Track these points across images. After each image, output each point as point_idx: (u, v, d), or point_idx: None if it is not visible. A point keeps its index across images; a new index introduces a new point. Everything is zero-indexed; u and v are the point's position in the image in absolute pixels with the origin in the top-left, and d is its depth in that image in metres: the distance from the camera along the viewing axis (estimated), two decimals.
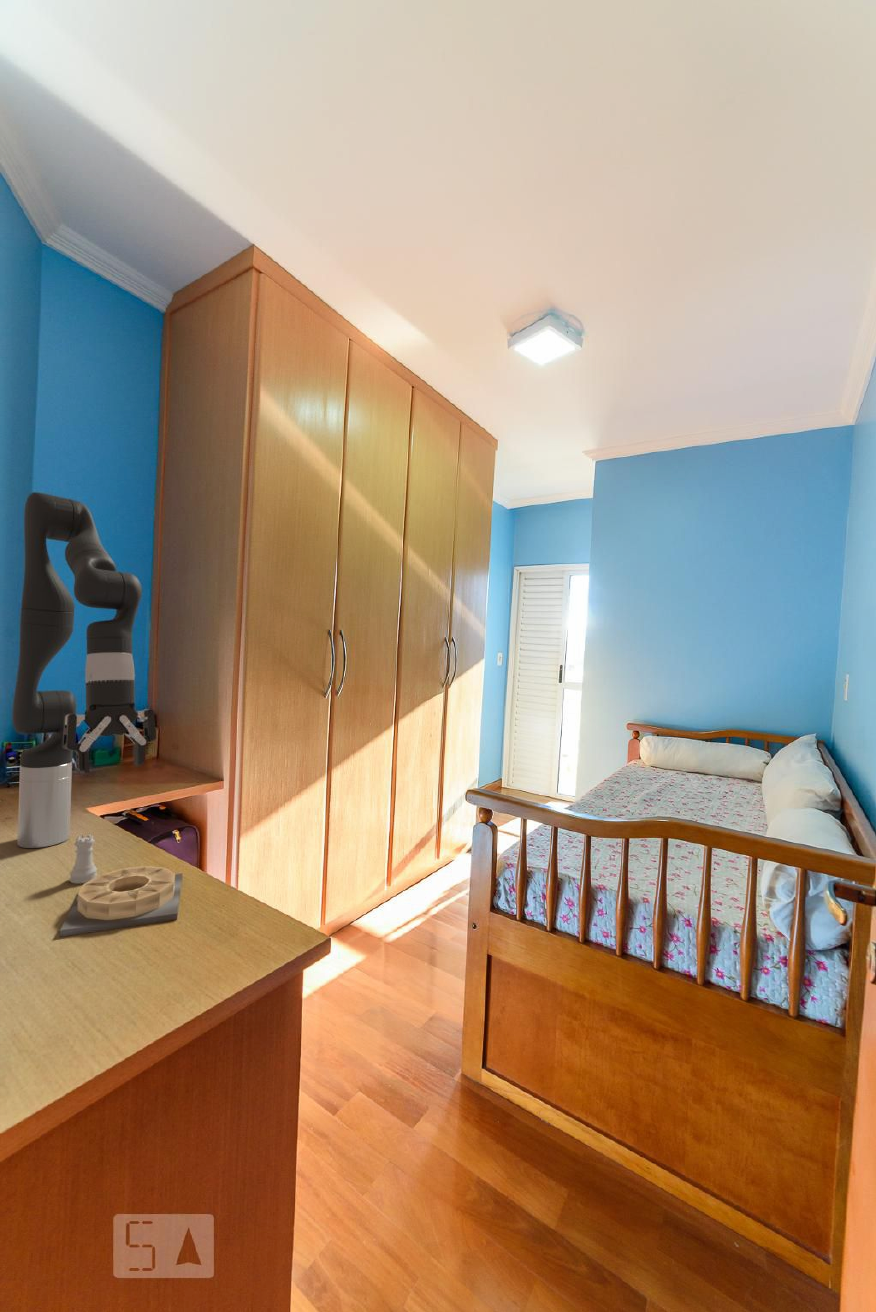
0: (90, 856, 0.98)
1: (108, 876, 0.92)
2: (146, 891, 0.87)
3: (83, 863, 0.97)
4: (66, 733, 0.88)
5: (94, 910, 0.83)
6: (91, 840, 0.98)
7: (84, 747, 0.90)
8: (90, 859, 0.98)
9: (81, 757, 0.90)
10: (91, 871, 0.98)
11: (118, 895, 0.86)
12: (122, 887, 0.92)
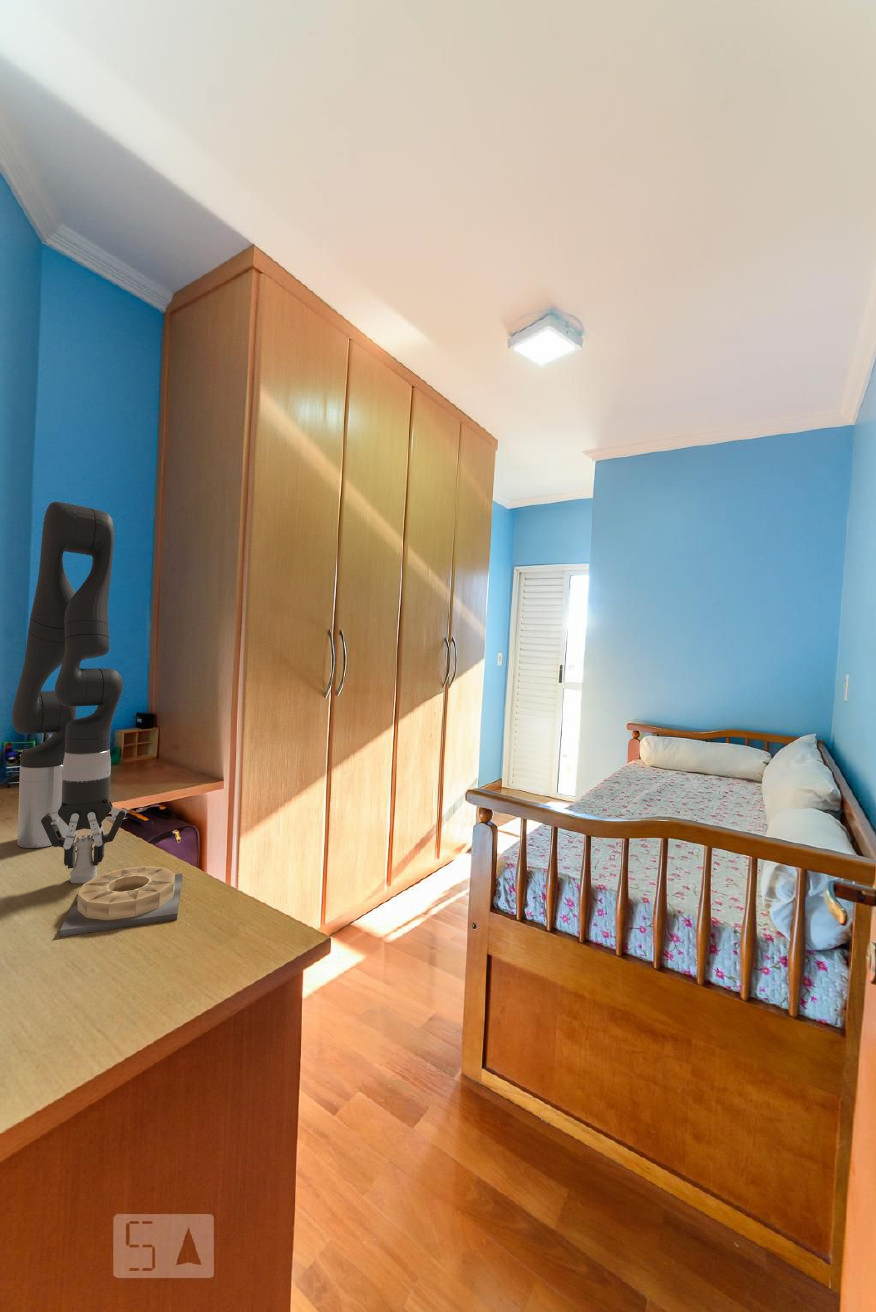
0: (90, 856, 0.98)
1: (108, 876, 0.92)
2: (146, 891, 0.87)
3: (83, 863, 0.97)
4: None
5: (94, 910, 0.83)
6: (91, 840, 0.98)
7: (68, 845, 0.96)
8: (90, 859, 0.98)
9: (66, 853, 0.97)
10: (91, 871, 0.98)
11: (118, 895, 0.86)
12: (122, 887, 0.92)
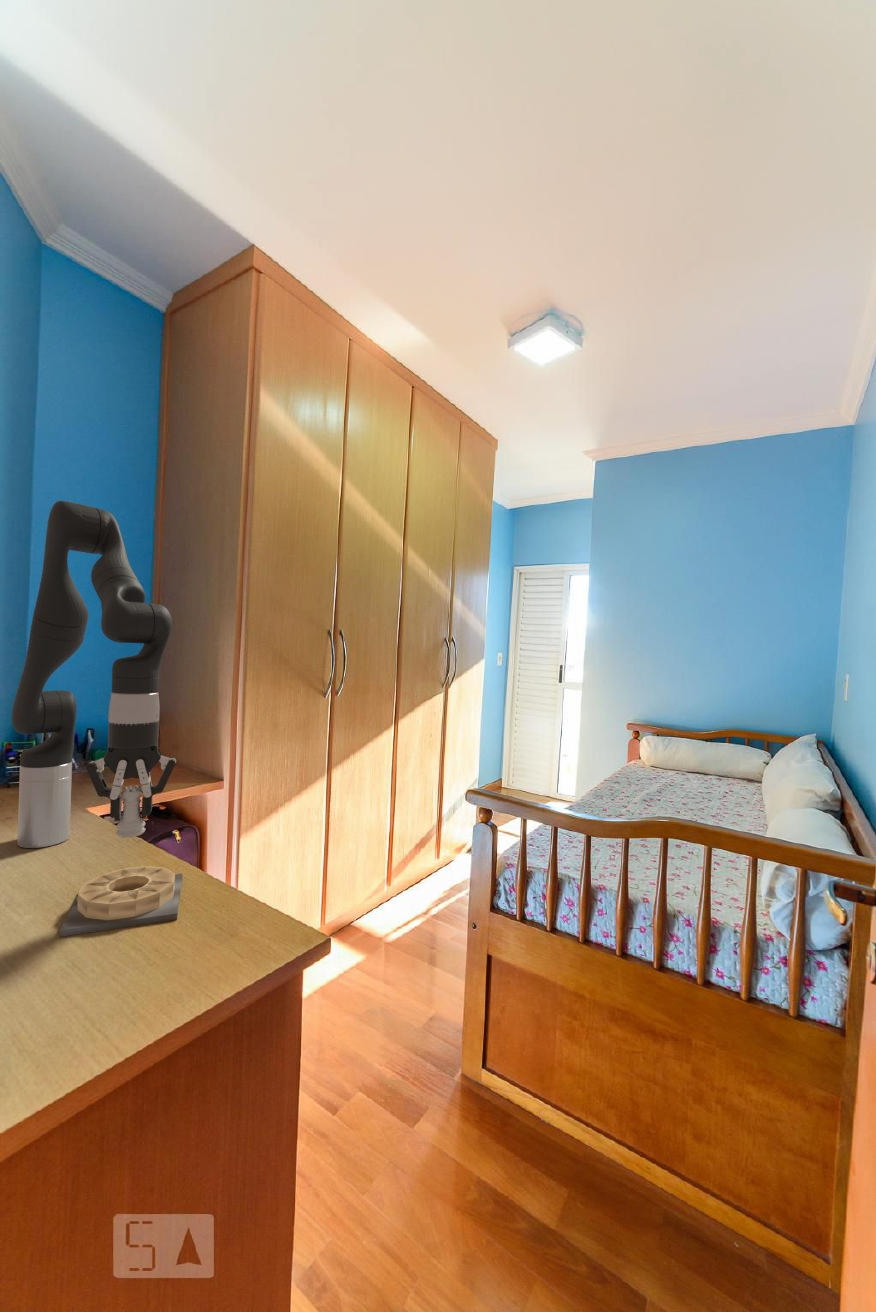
0: (138, 808, 0.90)
1: (108, 876, 0.92)
2: (146, 891, 0.87)
3: (130, 815, 0.89)
4: (93, 782, 0.87)
5: (94, 910, 0.83)
6: (139, 790, 0.90)
7: (114, 795, 0.88)
8: (138, 811, 0.90)
9: (113, 804, 0.88)
10: (139, 824, 0.89)
11: (118, 895, 0.86)
12: (122, 887, 0.92)
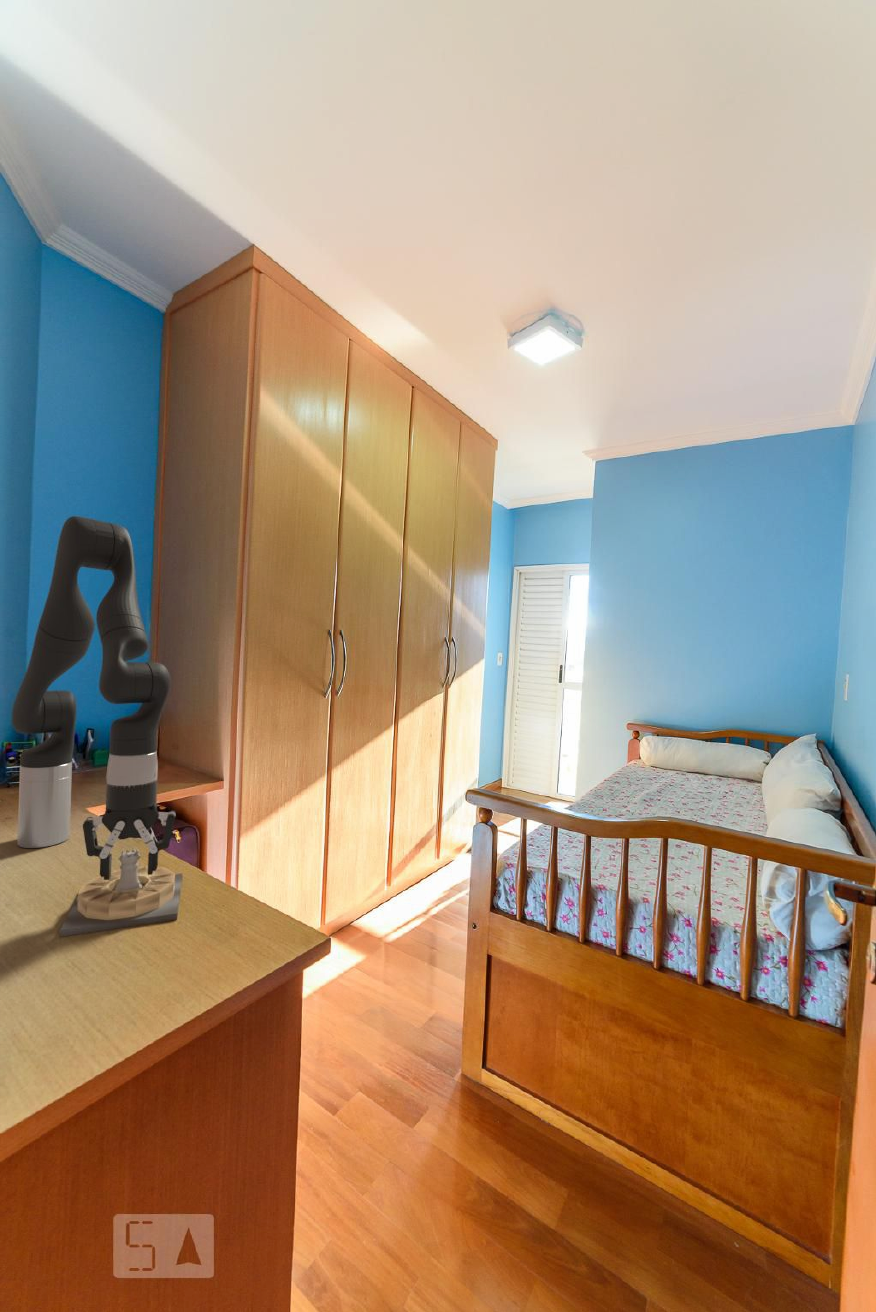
0: (135, 873, 0.90)
1: None
2: (146, 891, 0.87)
3: (128, 881, 0.89)
4: None
5: (94, 910, 0.83)
6: (137, 855, 0.90)
7: (104, 854, 0.87)
8: (135, 876, 0.90)
9: (102, 863, 0.88)
10: None
11: (118, 895, 0.86)
12: None
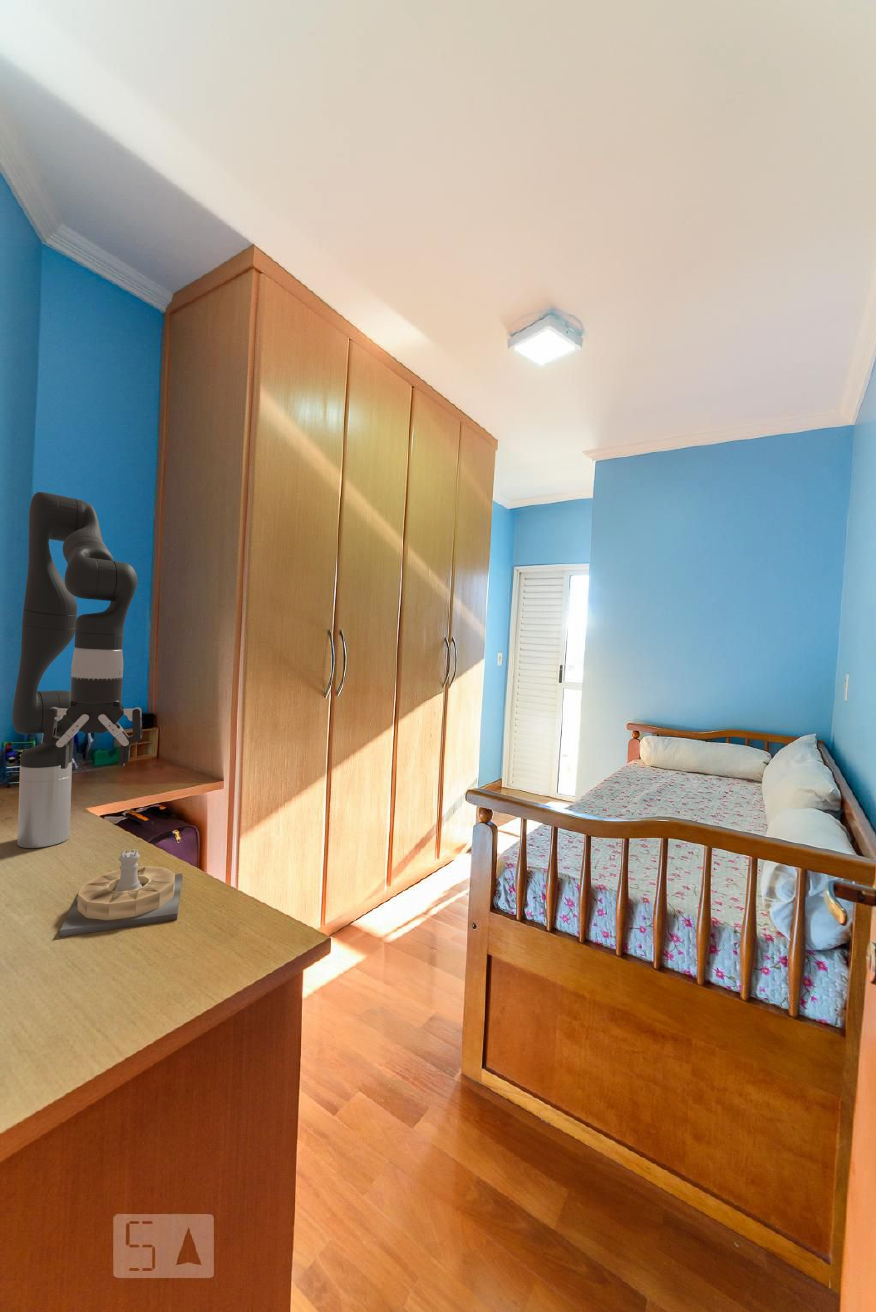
0: (135, 873, 0.90)
1: (108, 876, 0.92)
2: (146, 891, 0.87)
3: (128, 881, 0.89)
4: None
5: (94, 910, 0.83)
6: (136, 855, 0.90)
7: (61, 743, 0.88)
8: (135, 876, 0.90)
9: (59, 752, 0.89)
10: None
11: (118, 895, 0.86)
12: None
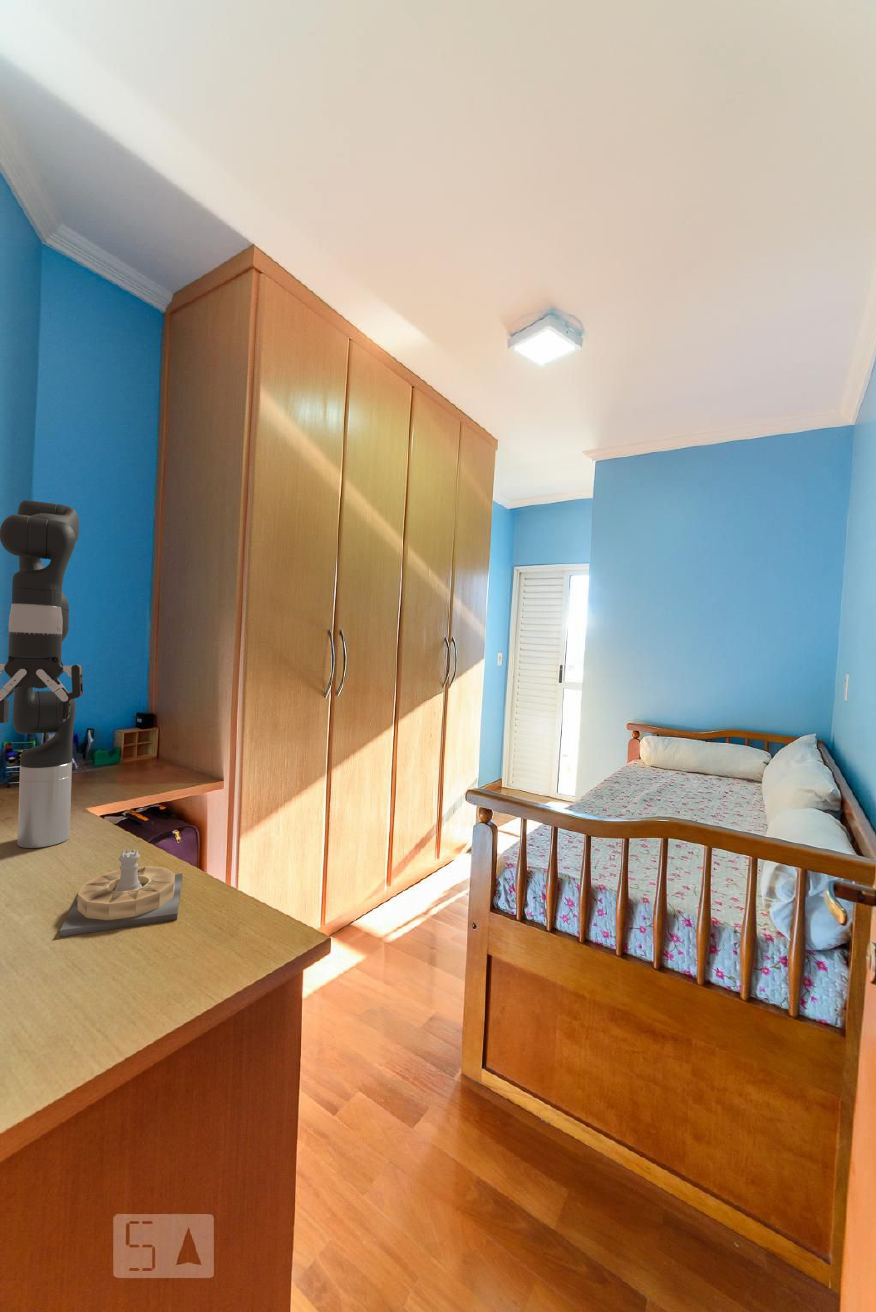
0: (135, 873, 0.90)
1: (108, 876, 0.92)
2: (146, 891, 0.87)
3: (128, 881, 0.89)
4: None
5: (94, 910, 0.83)
6: (136, 855, 0.90)
7: None
8: (135, 876, 0.90)
9: None
10: None
11: (118, 895, 0.86)
12: None
